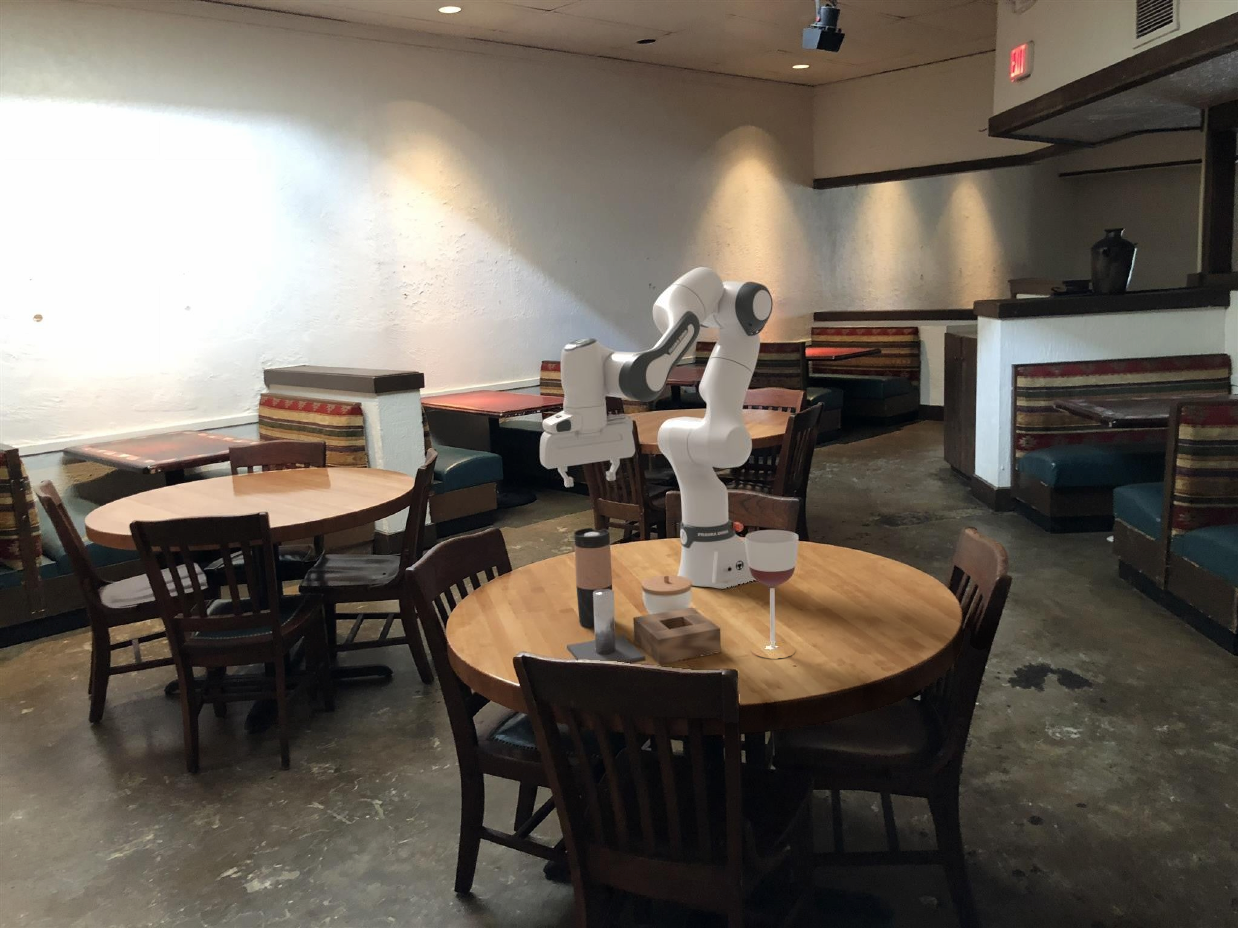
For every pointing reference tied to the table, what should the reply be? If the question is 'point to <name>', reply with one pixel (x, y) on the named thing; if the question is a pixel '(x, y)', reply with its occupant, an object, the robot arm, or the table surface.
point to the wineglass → (772, 563)
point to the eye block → (676, 635)
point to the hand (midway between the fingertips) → (590, 483)
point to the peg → (604, 621)
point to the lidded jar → (666, 593)
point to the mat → (622, 654)
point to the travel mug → (591, 569)
